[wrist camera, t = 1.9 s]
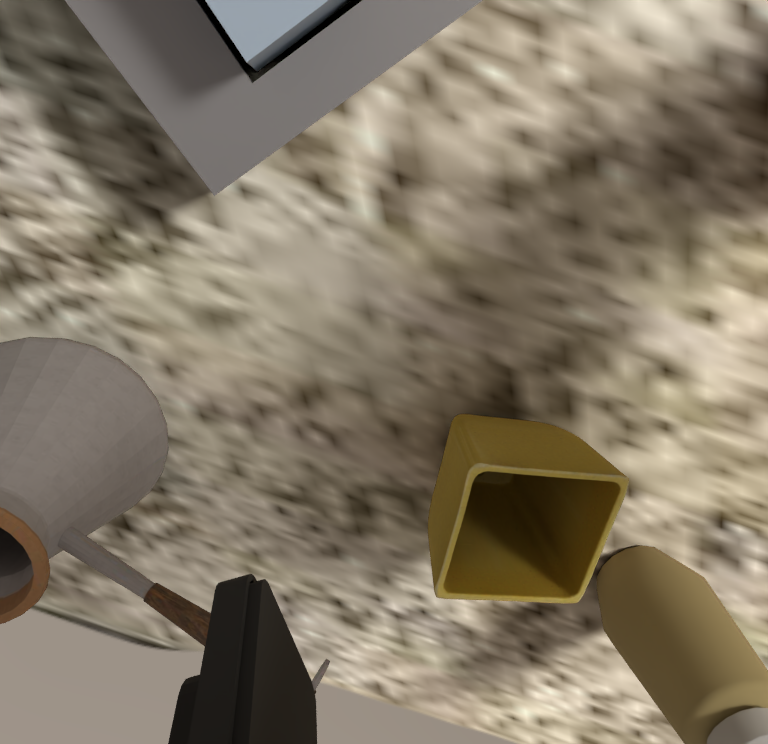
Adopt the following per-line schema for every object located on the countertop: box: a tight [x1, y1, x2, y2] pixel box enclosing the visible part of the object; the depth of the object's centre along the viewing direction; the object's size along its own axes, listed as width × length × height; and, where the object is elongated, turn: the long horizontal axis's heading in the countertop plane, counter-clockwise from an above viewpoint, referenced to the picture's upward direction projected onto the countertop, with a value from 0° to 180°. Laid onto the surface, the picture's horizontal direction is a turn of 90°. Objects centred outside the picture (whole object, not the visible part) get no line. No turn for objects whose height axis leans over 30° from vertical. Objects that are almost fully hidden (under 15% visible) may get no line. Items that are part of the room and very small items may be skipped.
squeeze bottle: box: [597, 546, 768, 744], centre depth 37 cm, size 8×8×18 cm
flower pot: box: [428, 414, 629, 603], centre depth 35 cm, size 9×9×9 cm
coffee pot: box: [0, 337, 330, 693], centre depth 29 cm, size 21×12×15 cm, turn 62°
